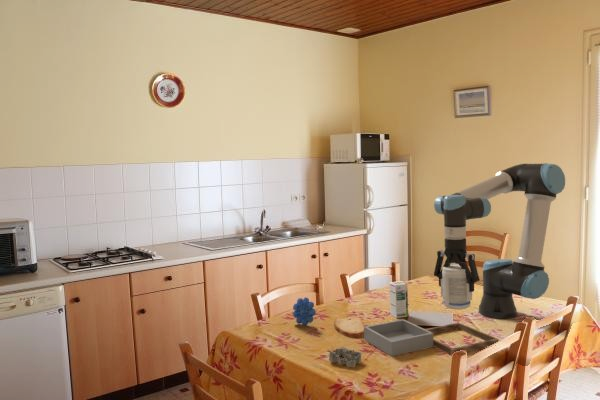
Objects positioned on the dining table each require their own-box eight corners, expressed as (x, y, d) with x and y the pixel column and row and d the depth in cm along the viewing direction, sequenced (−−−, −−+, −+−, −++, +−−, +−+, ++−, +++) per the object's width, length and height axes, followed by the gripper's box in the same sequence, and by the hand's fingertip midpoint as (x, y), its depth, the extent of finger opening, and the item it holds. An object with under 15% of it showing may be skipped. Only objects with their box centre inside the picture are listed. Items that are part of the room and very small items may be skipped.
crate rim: (458, 327, 203) (458, 322, 203) (498, 344, 184) (498, 339, 184) (414, 336, 194) (414, 331, 194) (452, 355, 175) (452, 349, 175)
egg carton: (326, 361, 174) (325, 350, 174) (339, 354, 180) (339, 343, 179) (351, 369, 167) (350, 357, 167) (364, 362, 173) (364, 350, 172)
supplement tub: (475, 306, 187) (475, 267, 185) (458, 312, 182) (457, 271, 180) (454, 300, 195) (453, 262, 193) (437, 305, 190) (436, 267, 188)
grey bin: (403, 331, 200) (403, 319, 200) (433, 346, 184) (433, 333, 183) (364, 339, 193) (363, 326, 192) (391, 356, 176) (391, 342, 176)
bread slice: (362, 340, 193) (361, 330, 193) (321, 332, 203) (321, 323, 203) (382, 326, 208) (382, 317, 208) (343, 319, 218) (343, 310, 218)
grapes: (322, 325, 210) (321, 296, 209) (312, 329, 205) (311, 300, 204) (300, 320, 218) (299, 292, 217) (289, 324, 212) (288, 296, 211)
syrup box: (396, 318, 216) (395, 284, 215) (389, 314, 222) (389, 281, 220) (408, 316, 218) (407, 283, 216) (401, 312, 223) (401, 280, 222)
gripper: (422, 236, 191) (424, 294, 193) (479, 242, 175) (480, 305, 177) (433, 233, 196) (434, 290, 199) (489, 238, 180) (490, 300, 183)
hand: (456, 297), depth 188 cm, fingers closed on supplement tub, 10 cm apart
